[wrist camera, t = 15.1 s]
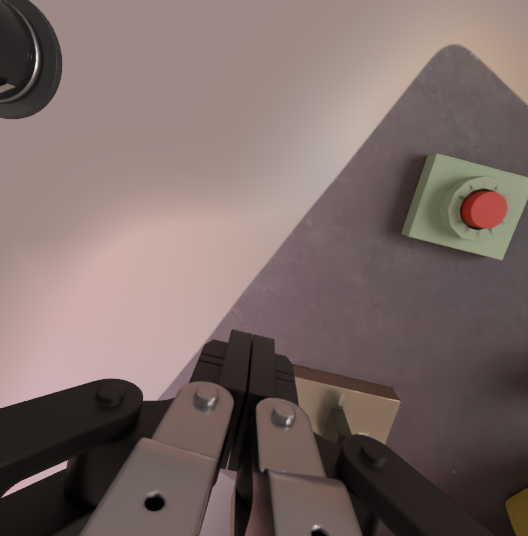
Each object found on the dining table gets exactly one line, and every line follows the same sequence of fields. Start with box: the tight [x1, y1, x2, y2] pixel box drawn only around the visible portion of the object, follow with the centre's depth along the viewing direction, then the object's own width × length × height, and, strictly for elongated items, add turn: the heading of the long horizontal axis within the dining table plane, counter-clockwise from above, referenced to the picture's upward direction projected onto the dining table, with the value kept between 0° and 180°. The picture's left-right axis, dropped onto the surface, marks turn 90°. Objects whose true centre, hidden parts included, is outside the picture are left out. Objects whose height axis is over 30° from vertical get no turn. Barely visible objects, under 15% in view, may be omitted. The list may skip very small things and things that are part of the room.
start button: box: [461, 191, 507, 229], centre depth 35 cm, size 4×4×2 cm
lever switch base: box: [293, 365, 401, 445], centre depth 44 cm, size 14×11×3 cm
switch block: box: [401, 153, 528, 260], centre depth 37 cm, size 11×9×4 cm
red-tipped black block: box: [323, 409, 352, 446], centre depth 40 cm, size 5×2×5 cm, turn 167°
